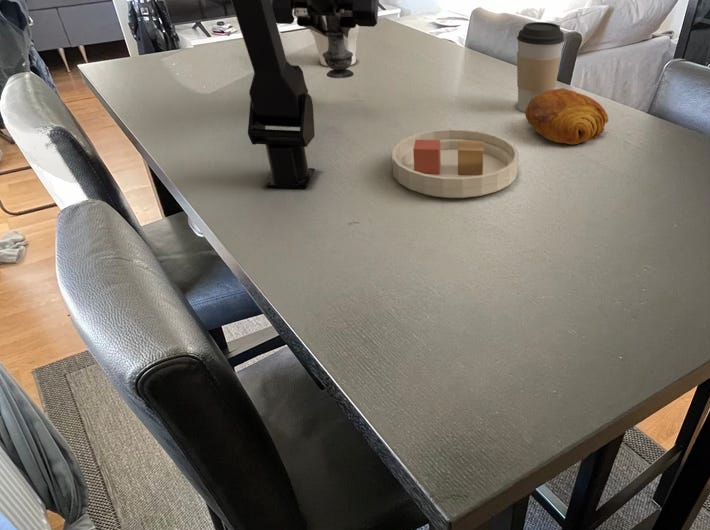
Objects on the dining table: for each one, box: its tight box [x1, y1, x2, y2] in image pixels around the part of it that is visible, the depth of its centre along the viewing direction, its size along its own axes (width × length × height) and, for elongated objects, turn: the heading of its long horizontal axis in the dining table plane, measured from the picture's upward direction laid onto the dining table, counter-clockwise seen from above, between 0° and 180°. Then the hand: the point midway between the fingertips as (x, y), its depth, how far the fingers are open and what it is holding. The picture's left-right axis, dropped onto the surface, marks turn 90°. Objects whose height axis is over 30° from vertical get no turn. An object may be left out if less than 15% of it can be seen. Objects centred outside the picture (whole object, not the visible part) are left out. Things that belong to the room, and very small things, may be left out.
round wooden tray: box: [391, 128, 520, 199], centre depth 95 cm, size 20×20×4 cm
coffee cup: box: [516, 21, 565, 113], centre depth 115 cm, size 9×9×15 cm
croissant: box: [524, 87, 609, 145], centre depth 108 cm, size 14×16×8 cm
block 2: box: [458, 141, 484, 175], centre depth 94 cm, size 4×4×4 cm
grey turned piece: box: [322, 14, 355, 79], centre depth 111 cm, size 6×6×12 cm
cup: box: [309, 16, 360, 68], centre depth 138 cm, size 12×12×11 cm
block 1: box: [413, 140, 441, 174], centre depth 94 cm, size 4×4×4 cm
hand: (337, 34), depth 112 cm, fingers closed on grey turned piece, 3 cm apart
